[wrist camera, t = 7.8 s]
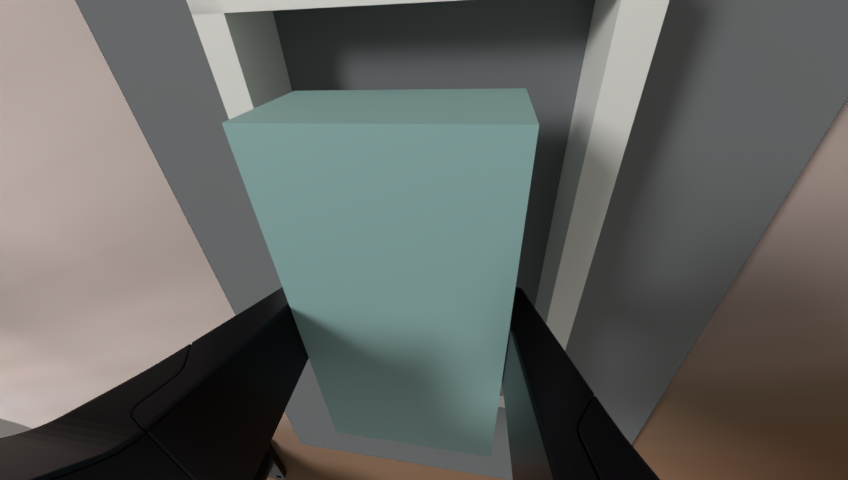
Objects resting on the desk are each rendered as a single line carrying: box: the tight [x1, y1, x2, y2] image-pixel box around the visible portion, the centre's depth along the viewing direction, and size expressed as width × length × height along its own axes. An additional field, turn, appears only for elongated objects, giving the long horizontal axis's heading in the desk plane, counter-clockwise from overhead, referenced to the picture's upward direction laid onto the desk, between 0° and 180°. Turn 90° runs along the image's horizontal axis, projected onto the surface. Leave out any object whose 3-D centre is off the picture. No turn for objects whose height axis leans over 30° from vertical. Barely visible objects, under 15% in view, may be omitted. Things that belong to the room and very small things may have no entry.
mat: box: [75, 0, 848, 480], centre depth 15 cm, size 28×20×1 cm
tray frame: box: [186, 0, 669, 408], centre depth 11 cm, size 15×10×2 cm, turn 3°
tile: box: [222, 88, 539, 457], centre depth 9 cm, size 10×5×2 cm, turn 3°
